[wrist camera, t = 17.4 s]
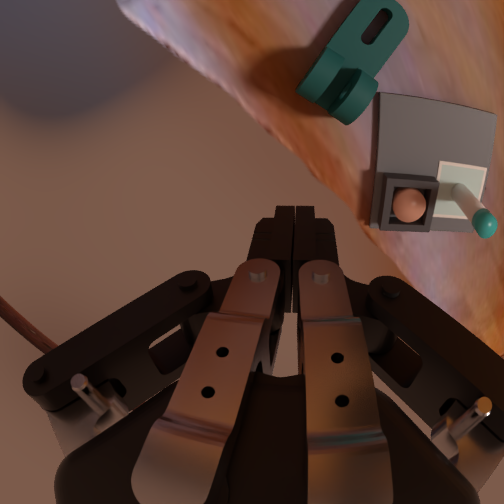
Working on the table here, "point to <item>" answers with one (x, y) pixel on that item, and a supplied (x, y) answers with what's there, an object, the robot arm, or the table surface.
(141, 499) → the robot arm
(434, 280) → the table surface
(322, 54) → the bracket
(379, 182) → the drawing board
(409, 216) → the button
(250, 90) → the table surface
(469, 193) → the marker
